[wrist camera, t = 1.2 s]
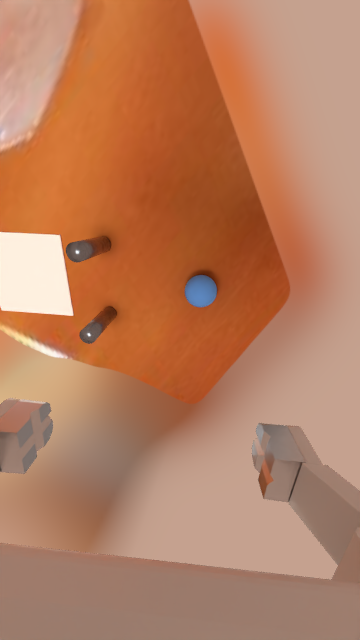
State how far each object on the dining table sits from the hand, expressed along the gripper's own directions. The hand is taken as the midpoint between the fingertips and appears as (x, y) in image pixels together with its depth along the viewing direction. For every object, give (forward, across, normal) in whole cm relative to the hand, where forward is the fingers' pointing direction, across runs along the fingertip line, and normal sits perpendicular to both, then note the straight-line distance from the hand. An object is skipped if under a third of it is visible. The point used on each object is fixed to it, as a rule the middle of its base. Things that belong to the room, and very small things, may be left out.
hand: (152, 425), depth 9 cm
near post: (+31, +13, -5) cm, 34 cm away
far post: (+32, +13, +6) cm, 35 cm away
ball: (+29, -3, 0) cm, 29 cm away
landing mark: (+32, +27, +1) cm, 42 cm away
